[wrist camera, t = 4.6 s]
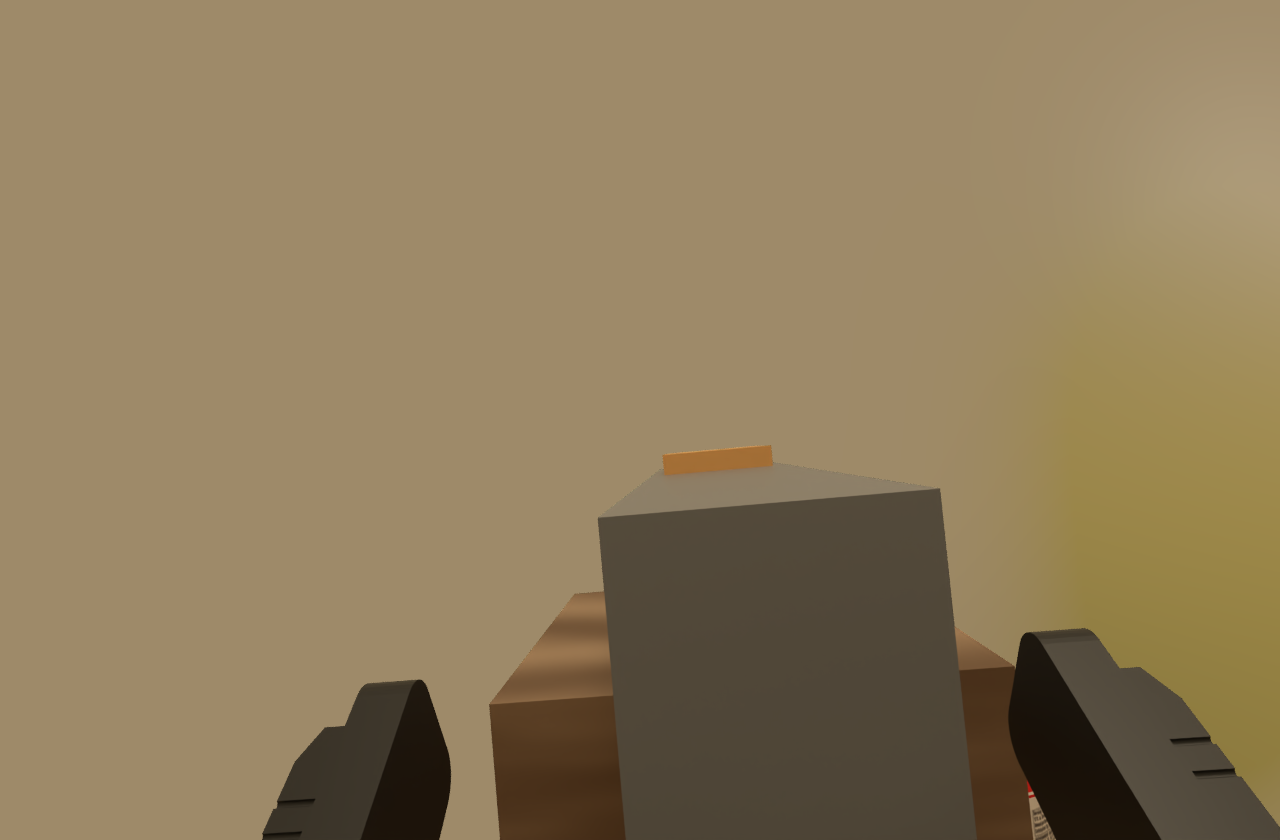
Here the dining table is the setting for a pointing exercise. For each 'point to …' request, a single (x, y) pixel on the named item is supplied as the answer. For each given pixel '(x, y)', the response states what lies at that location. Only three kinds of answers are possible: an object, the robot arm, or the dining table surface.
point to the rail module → (783, 655)
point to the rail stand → (588, 751)
